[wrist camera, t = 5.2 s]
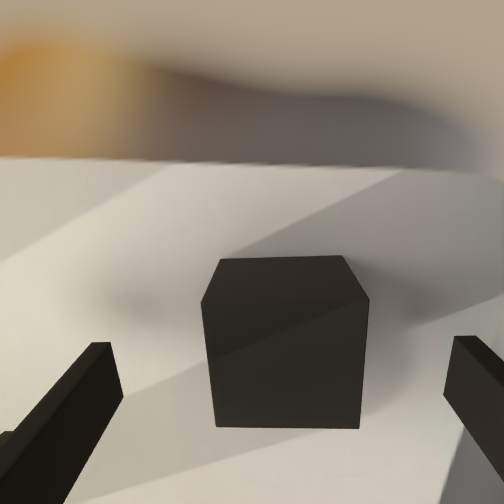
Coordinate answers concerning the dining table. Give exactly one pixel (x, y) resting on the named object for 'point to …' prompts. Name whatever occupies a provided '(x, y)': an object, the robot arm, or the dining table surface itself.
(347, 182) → the dining table surface
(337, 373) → the black pad
